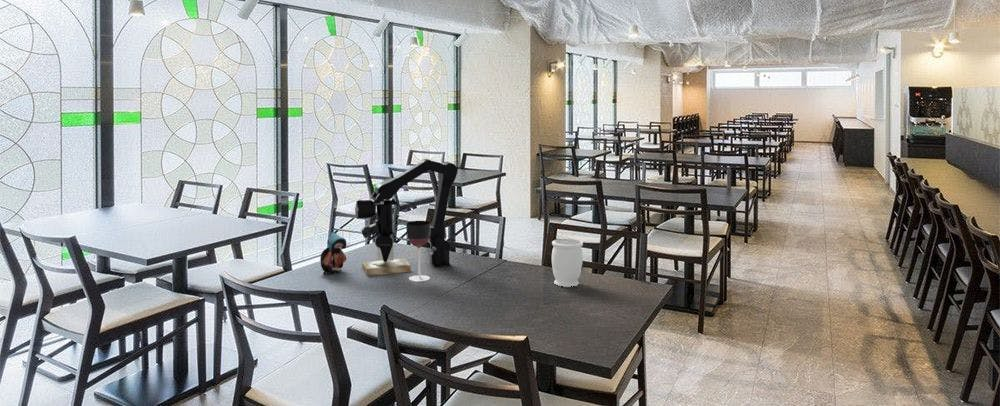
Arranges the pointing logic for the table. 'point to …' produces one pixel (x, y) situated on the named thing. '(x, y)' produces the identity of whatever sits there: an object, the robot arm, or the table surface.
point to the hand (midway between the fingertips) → (385, 258)
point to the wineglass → (418, 241)
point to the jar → (567, 261)
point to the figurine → (333, 255)
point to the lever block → (386, 267)
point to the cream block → (379, 257)
